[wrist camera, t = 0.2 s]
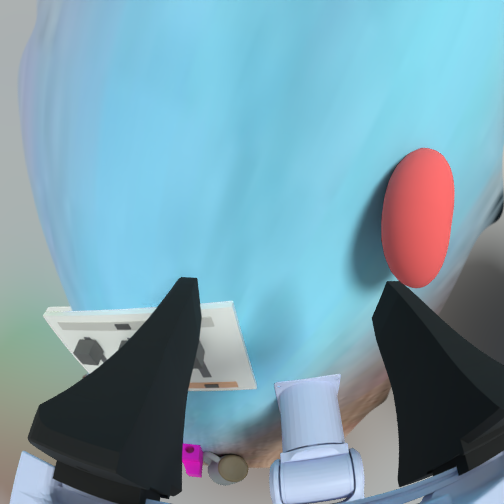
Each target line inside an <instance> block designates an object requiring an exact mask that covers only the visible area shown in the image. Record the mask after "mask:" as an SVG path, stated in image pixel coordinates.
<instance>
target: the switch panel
mask: <svg viewBox="0 0 504 504" xmlns="http://www.w3.org/2000/svg"><path fill="white" fill-rule="evenodd" d="M200 307H201V315H202V320H201V329H200V338H199V340H200V342H201V344H202V346H203V348H204V351H205V354H204V361H203V368H202V369H193V371H192V375H191V380H190V384H189V389H188V391H225V390H247V389H257V383H256V379H255V376H254V373H253V369H252V366H251V363H250V359H249V356H248V352H247V349H246V346H245V342H244V339H243V335H242V332H241V328H240V325H239V321H238V318H237V314H236V310H235V307H234V303H233V301H225V302H214V303H203V304H200ZM156 308H157V307H151V308H135V309H116V310H92V311H72V309H71V307H70V306H62V307H48V308H47V310H46V311H45V313H44V315H43V317H44V318H45V320H46V321H47V322H48V324H49V325H50V327H51V328H52V329H53V331H54V332H55V333H56V334H57V336H58V337H59V338H60V339H61V341H62V342H63V343H64V345H65V346H66V347H67V348H68V349H69V351H70V352H71V353H72V354H73V352H74V350H75V348H76V346H77V343H78V341H79V339H83V340H95V341H96V342H97V343H98V345H99V346H100V347H101V349H102V350H103V351H104V352H103V355H102V357H101V360H100V362H99V365H98V366H97V365H87V364H82V363H81V362H80V361H79V359H78V358H77V357H76V356H75V355H74V354H73V355H74V357H75V358H76V359H77V360H78V361H79V362H80V363H81V365H82V366H83V367H84V368H85V369H86V370H87V371H88V372H89V373H92V372H93V371H94V370H95V369H97V368H98V367H99V366H100V365H102V364H103V363H104V362H105V361H106V360H107V359H109V358H110V357H111V356H112V355H113V354H114V353H115V352H116V351H118V349H119V346H120V343H121V341H122V340H129V339H130V338H131V337H132V336H133V335H134V334H135V332H136V331H137V330H138V329H139V328H140V327H141V326H142V325H143V323H144V322H145V321H146V320H147V319H148V318H149V317H150V315H151V314H152V313H153V312H154V310H155V309H156Z"/></svg>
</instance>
